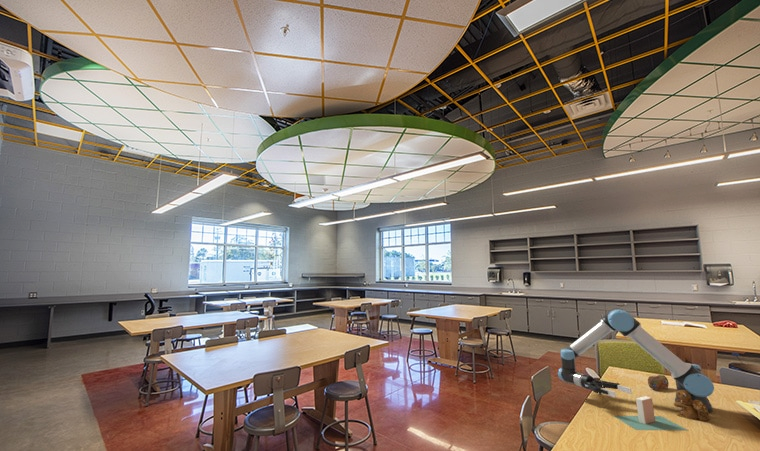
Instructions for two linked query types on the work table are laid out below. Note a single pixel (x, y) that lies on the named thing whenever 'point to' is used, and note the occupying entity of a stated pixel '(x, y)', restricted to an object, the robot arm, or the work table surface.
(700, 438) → the work table surface
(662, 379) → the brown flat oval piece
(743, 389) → the work table surface
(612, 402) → the work table surface
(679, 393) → the stuffed squirrel
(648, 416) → the card box
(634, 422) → the mat
